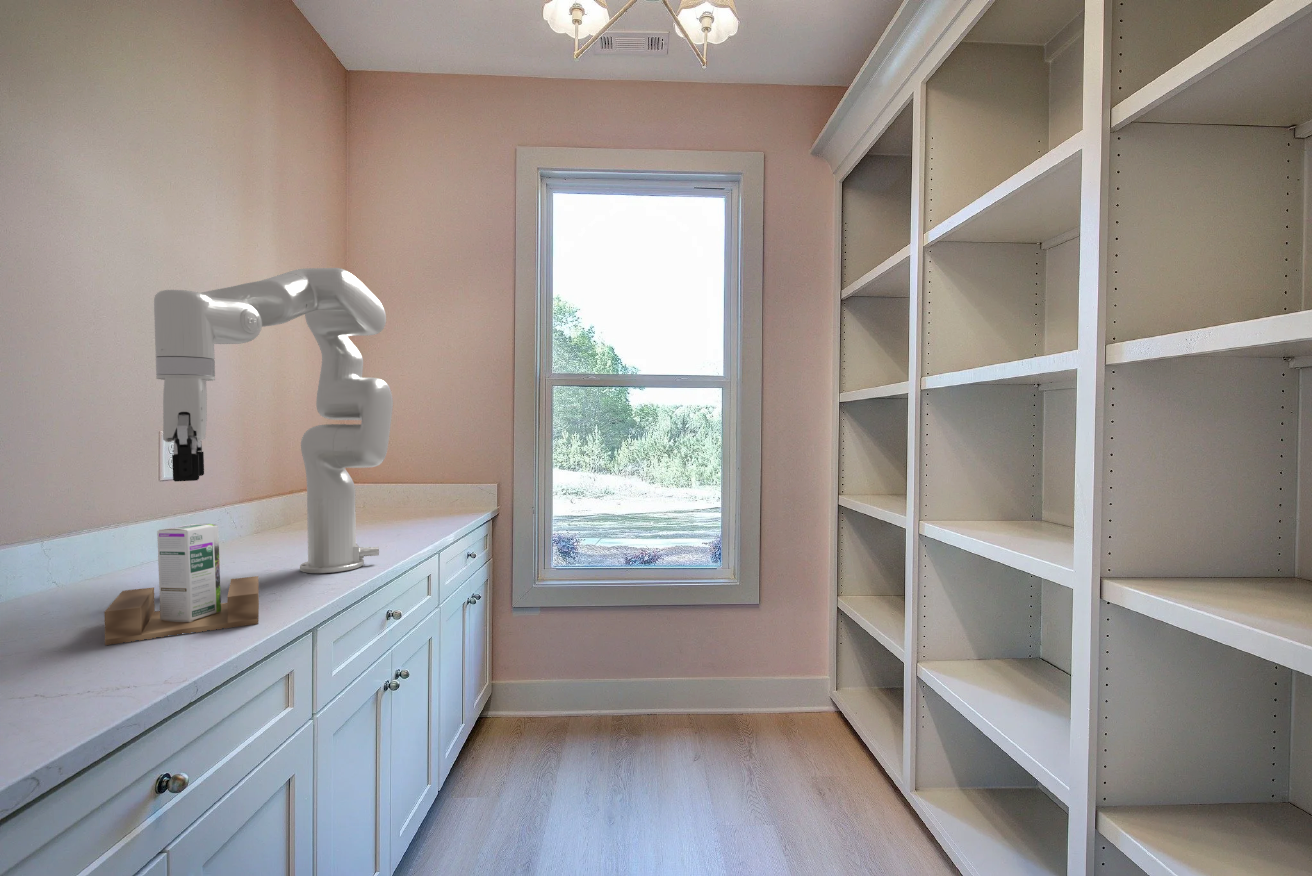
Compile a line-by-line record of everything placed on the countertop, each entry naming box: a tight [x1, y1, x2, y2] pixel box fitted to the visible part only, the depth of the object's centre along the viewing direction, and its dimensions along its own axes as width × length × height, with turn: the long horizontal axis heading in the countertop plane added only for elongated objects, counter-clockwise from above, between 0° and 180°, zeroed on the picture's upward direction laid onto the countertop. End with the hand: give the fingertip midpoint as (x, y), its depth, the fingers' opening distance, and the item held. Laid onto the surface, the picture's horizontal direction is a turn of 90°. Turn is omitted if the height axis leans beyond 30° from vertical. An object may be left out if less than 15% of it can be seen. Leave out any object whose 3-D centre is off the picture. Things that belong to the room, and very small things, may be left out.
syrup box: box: [156, 523, 222, 622], centre depth 101 cm, size 6×6×14 cm
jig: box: [103, 575, 260, 646], centre depth 101 cm, size 18×14×5 cm
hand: (189, 478), depth 101 cm, fingers open, 9 cm apart
